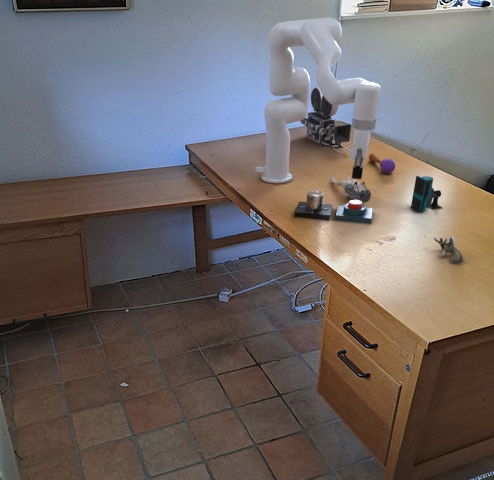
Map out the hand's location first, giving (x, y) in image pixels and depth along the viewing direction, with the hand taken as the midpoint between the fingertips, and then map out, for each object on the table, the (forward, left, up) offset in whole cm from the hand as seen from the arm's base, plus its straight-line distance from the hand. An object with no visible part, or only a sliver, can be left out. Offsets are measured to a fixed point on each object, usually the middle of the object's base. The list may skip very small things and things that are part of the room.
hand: (356, 177), depth 188 cm
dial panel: (-13, -1, -14) cm, 19 cm away
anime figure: (-2, +20, -14) cm, 25 cm away
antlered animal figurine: (+30, -24, -14) cm, 41 cm away
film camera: (-19, +82, -14) cm, 86 cm away
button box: (+1, -1, -14) cm, 14 cm away
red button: (+1, -1, -10) cm, 10 cm away
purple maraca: (+8, +54, -14) cm, 56 cm away
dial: (-13, -1, -12) cm, 18 cm away
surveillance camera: (+25, +13, -14) cm, 32 cm away
